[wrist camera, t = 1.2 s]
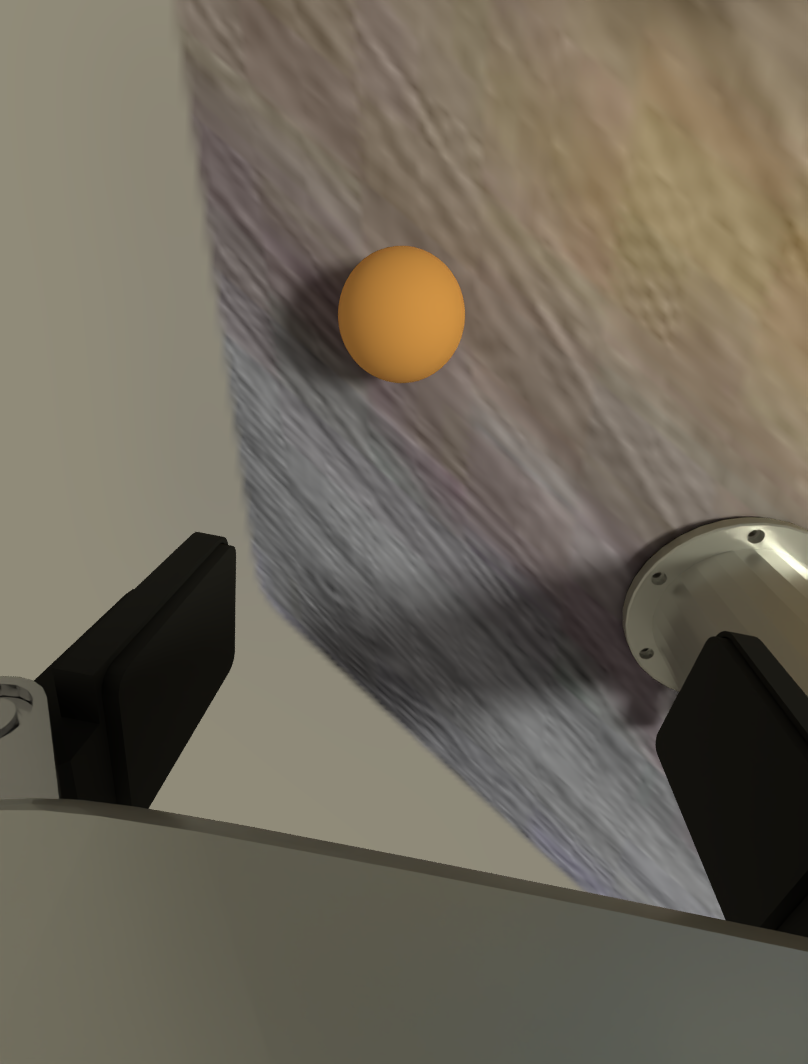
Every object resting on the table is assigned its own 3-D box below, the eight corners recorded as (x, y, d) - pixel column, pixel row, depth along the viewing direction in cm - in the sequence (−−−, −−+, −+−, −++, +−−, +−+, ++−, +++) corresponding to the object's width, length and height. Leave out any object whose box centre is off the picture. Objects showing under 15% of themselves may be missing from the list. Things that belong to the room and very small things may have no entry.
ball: (466, 370, 28) (464, 390, 23) (358, 375, 29) (332, 395, 24) (464, 245, 26) (462, 234, 20) (346, 254, 27) (315, 246, 21)
